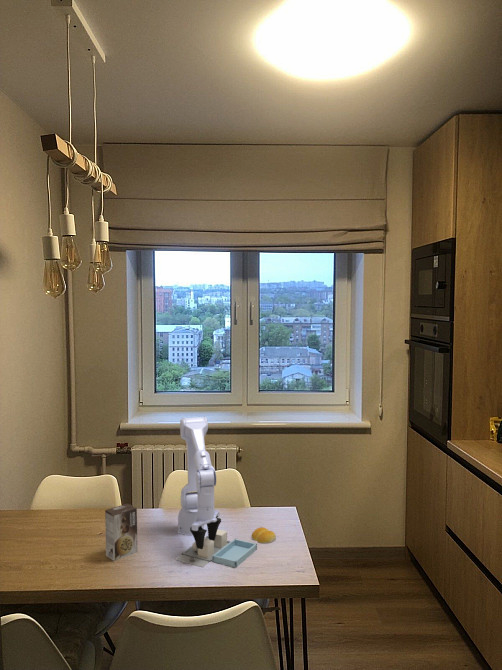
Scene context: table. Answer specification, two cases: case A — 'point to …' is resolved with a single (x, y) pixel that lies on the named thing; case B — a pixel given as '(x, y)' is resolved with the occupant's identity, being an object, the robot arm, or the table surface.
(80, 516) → the table surface
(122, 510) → the coffee box
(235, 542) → the blue bin
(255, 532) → the bread roll
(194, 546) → the pebble
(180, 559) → the slate tray
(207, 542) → the stone block near
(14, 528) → the table surface
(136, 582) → the table surface
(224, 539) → the stone block far
